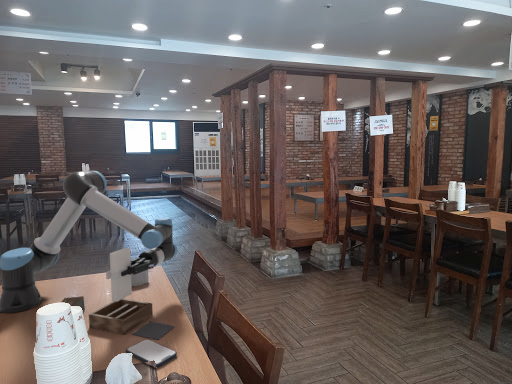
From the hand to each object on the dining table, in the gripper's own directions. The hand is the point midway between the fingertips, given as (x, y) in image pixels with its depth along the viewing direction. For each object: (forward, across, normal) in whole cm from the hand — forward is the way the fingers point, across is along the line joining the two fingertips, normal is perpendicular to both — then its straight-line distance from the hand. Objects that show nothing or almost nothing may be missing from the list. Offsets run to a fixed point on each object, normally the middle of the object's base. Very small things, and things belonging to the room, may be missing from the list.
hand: (110, 276), depth 128 cm
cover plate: (-5, 0, -10) cm, 11 cm away
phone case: (+10, -24, -20) cm, 33 cm away
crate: (-5, 0, -20) cm, 20 cm away
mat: (-3, -16, -19) cm, 25 cm away
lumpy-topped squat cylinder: (-42, +24, -20) cm, 53 cm away
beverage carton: (+2, +20, -20) cm, 29 cm away
